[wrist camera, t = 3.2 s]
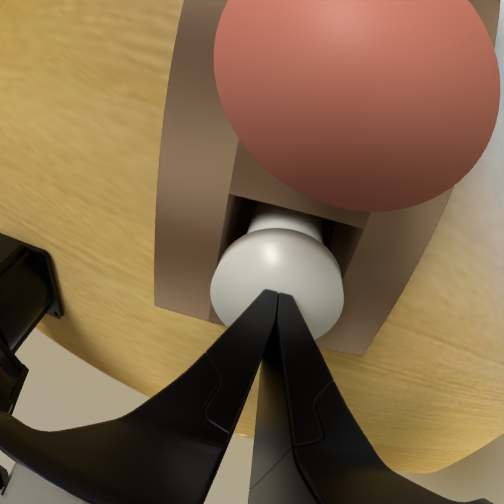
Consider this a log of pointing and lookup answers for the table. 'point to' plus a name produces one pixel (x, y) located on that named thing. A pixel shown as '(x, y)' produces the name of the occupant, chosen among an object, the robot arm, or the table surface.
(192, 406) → the robot arm
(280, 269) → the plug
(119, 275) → the table surface
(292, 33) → the red plug
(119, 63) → the table surface
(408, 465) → the table surface
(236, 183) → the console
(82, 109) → the table surface
